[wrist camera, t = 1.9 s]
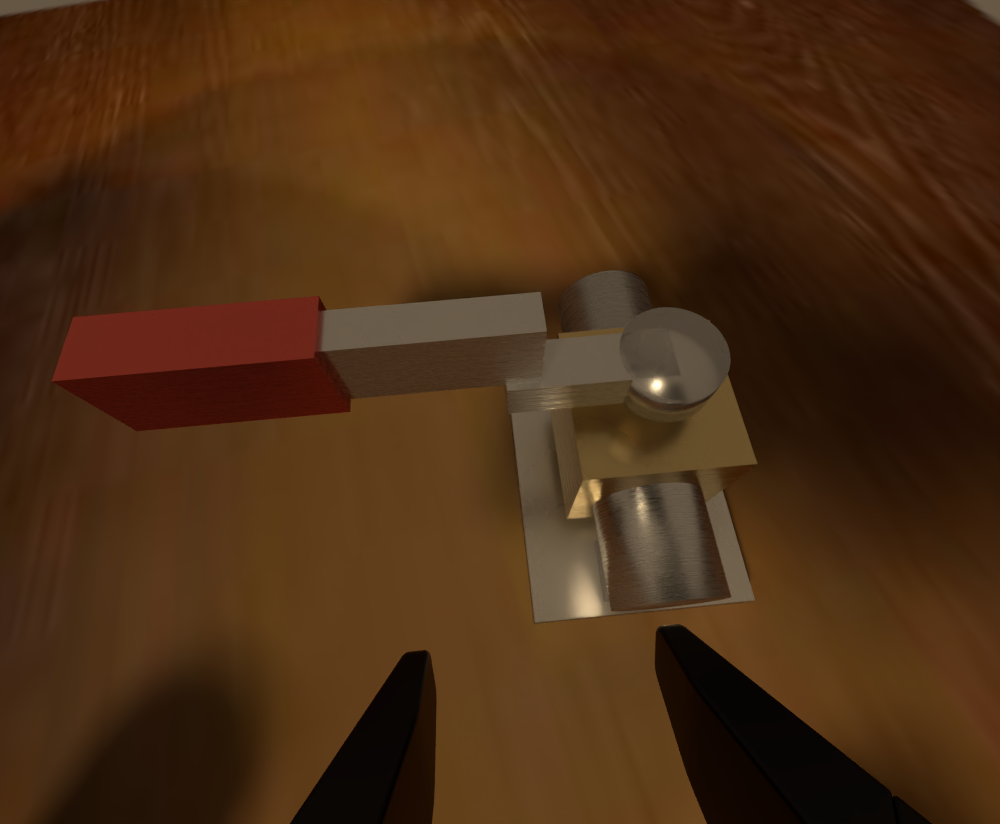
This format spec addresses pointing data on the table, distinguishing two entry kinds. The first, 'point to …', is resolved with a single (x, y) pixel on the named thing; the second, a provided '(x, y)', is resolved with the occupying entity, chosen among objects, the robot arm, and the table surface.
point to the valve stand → (627, 489)
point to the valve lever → (379, 359)
